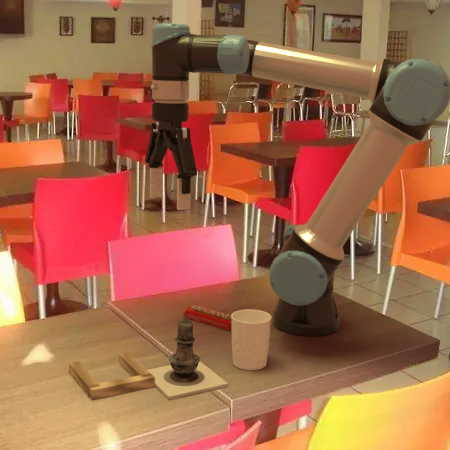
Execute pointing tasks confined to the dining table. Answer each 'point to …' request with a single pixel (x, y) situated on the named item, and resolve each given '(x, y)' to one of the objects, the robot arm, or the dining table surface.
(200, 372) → the cream square board
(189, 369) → the salt shaker
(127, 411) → the dining table surface
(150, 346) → the dining table surface
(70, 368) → the block
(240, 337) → the white cup
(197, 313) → the candy bar
